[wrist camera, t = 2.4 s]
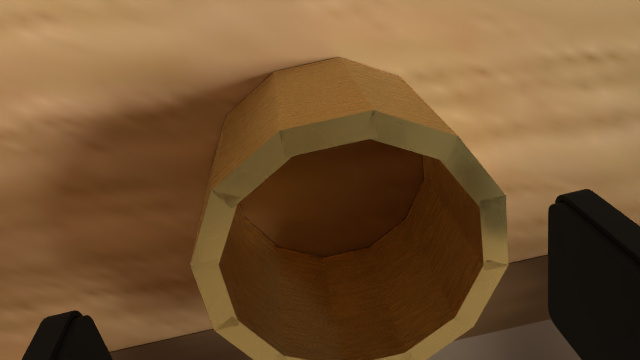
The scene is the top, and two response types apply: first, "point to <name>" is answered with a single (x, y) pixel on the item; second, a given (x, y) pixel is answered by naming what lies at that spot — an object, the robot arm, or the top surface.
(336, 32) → the top surface
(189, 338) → the walnut stand
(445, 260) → the brass ring
